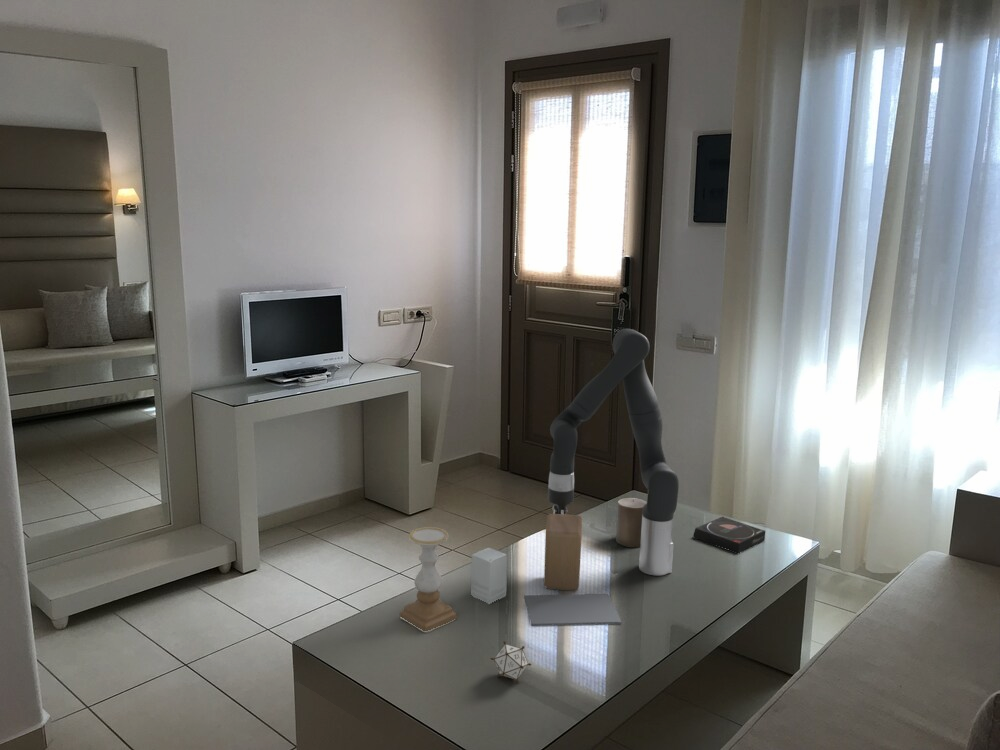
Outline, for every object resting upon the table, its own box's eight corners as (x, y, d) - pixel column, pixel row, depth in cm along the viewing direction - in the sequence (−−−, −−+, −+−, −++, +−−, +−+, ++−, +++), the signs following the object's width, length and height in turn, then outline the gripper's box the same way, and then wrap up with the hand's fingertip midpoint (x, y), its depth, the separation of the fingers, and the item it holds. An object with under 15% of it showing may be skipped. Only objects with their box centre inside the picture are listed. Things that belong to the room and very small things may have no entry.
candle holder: (430, 604, 220) (431, 522, 215) (457, 619, 212) (458, 535, 207) (398, 618, 212) (398, 533, 207) (425, 634, 205) (425, 546, 200)
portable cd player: (719, 526, 281) (720, 516, 280) (764, 542, 269) (765, 530, 268) (693, 538, 270) (693, 527, 269) (738, 555, 258) (739, 543, 257)
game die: (502, 688, 188) (489, 646, 192) (536, 676, 189) (522, 634, 192) (498, 691, 180) (484, 646, 183) (534, 678, 180) (519, 633, 183)
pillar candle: (647, 548, 260) (650, 504, 258) (617, 547, 260) (620, 503, 258) (642, 536, 270) (645, 494, 267) (613, 535, 270) (616, 493, 267)
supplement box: (507, 596, 226) (508, 554, 223) (488, 605, 220) (490, 562, 218) (488, 587, 231) (489, 546, 228) (470, 596, 225) (470, 554, 223)
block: (579, 569, 238) (582, 514, 229) (578, 592, 229) (581, 535, 220) (545, 567, 239) (547, 511, 230) (543, 589, 230) (545, 532, 221)
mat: (607, 595, 228) (608, 593, 228) (621, 623, 212) (621, 621, 212) (524, 596, 225) (524, 595, 225) (531, 625, 210) (531, 623, 210)
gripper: (577, 493, 230) (575, 550, 233) (570, 478, 243) (567, 532, 246) (551, 494, 229) (549, 550, 233) (545, 478, 242) (543, 532, 245)
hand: (558, 541), depth 239 cm, fingers closed
